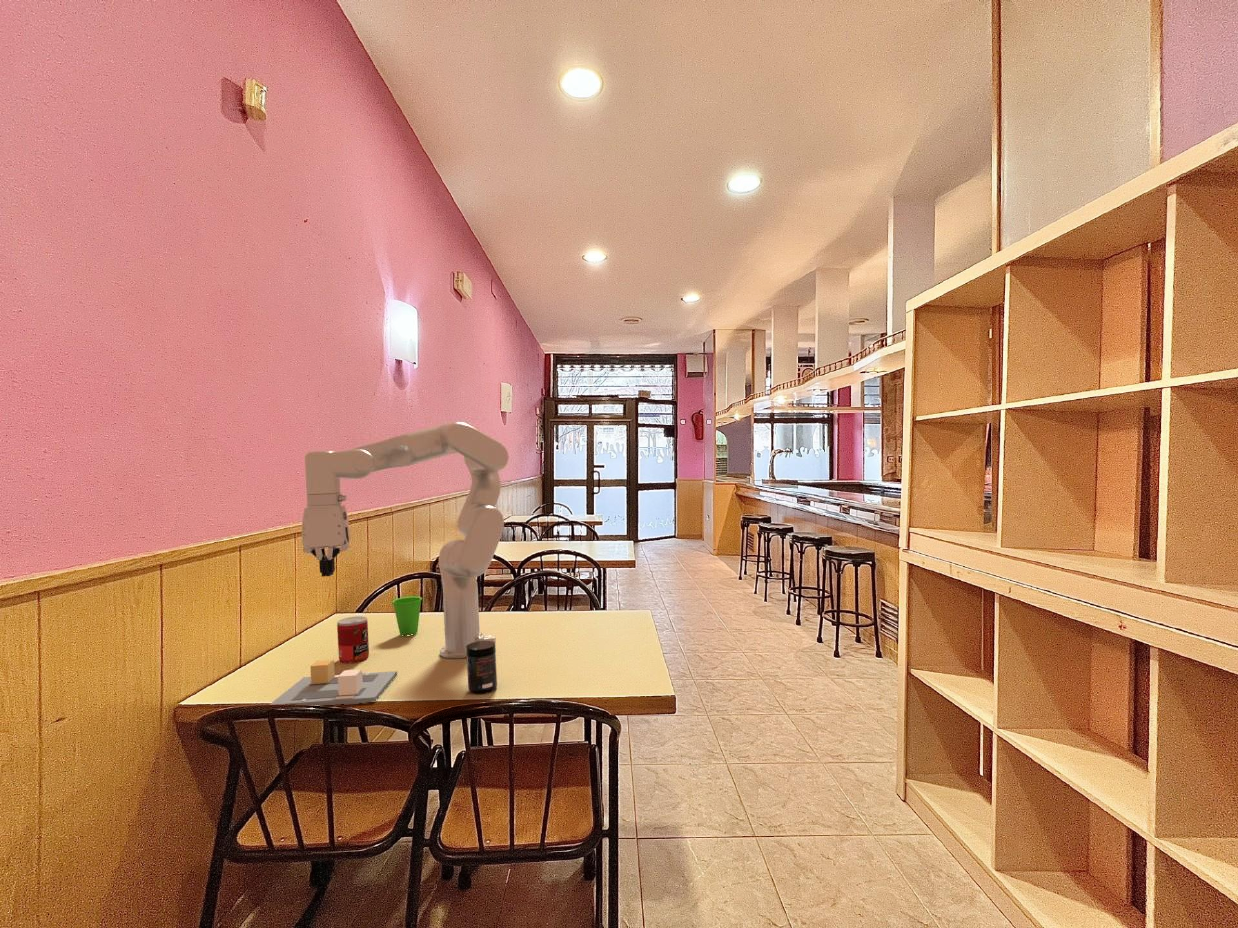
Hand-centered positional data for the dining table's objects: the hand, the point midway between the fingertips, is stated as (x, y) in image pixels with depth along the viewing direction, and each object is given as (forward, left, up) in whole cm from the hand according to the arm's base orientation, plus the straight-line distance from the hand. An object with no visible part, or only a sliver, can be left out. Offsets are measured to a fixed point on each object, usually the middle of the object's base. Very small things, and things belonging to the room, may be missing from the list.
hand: (327, 575), depth 148 cm
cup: (-7, -42, -27) cm, 51 cm away
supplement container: (-38, +10, -27) cm, 48 cm away
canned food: (+2, -20, -27) cm, 34 cm away
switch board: (-3, +5, -27) cm, 28 cm away
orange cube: (+2, 0, -26) cm, 26 cm away
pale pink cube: (-8, +9, -26) cm, 28 cm away
